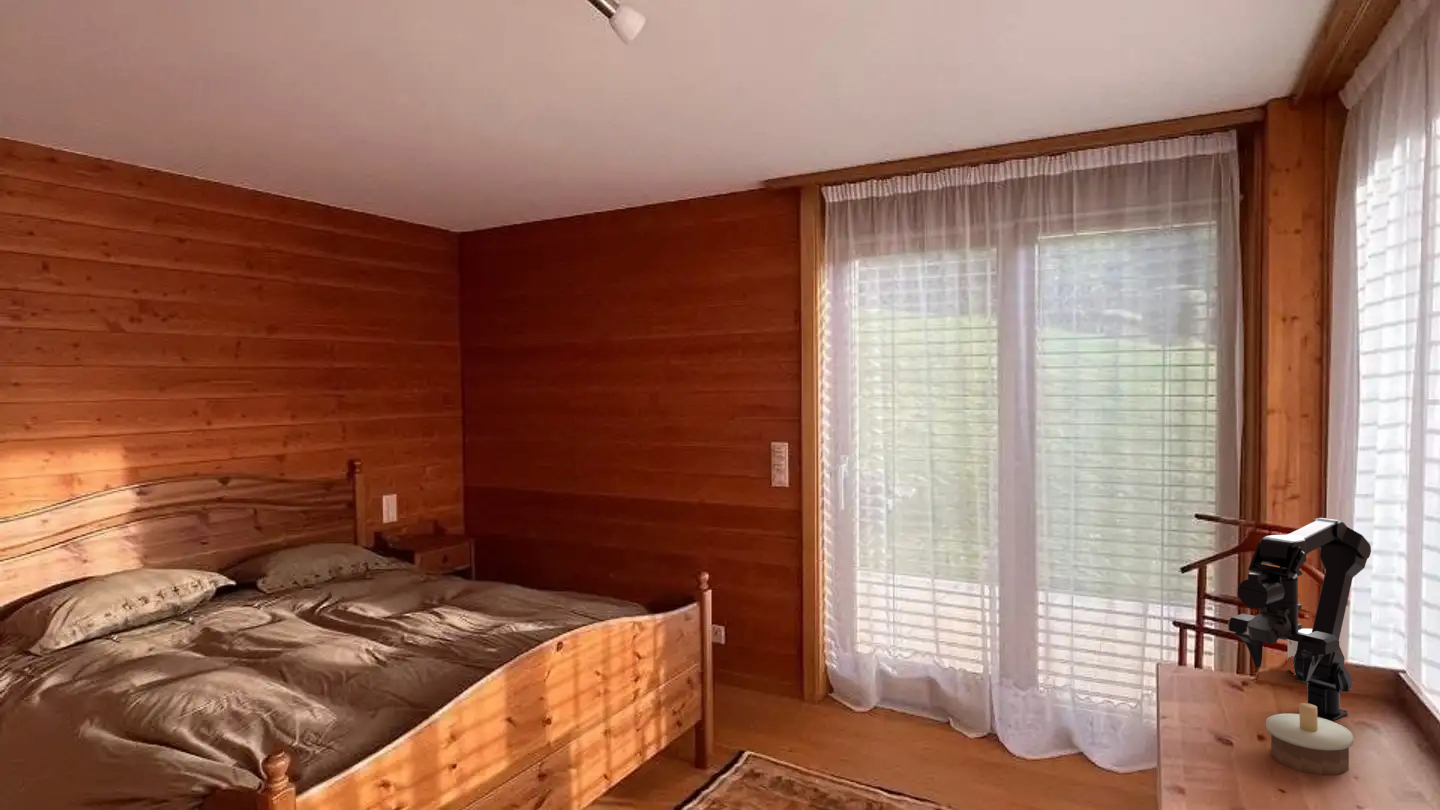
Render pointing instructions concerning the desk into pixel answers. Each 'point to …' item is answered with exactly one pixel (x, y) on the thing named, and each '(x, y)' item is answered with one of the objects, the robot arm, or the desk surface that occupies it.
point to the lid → (1309, 730)
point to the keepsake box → (1310, 758)
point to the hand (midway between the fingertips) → (1281, 674)
